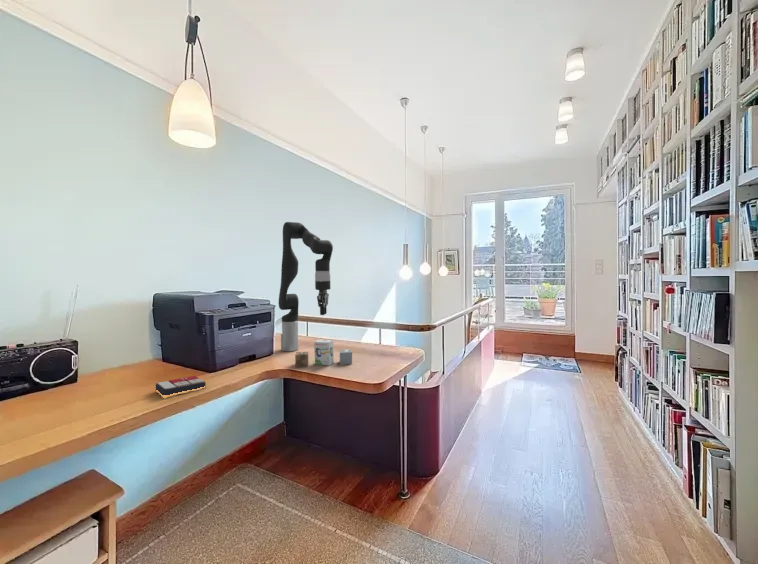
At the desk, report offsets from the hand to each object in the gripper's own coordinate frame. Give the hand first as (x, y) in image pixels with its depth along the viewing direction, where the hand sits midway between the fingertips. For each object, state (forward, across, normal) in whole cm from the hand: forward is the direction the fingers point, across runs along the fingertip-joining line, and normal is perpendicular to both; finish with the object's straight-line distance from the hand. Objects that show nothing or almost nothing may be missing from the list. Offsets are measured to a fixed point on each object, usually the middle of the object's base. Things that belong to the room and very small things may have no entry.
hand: (323, 314), depth 175 cm
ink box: (+25, 0, 0) cm, 25 cm away
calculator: (+26, +42, -48) cm, 68 cm away
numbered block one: (+25, +3, -10) cm, 27 cm away
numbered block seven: (+25, -3, +10) cm, 27 cm away
